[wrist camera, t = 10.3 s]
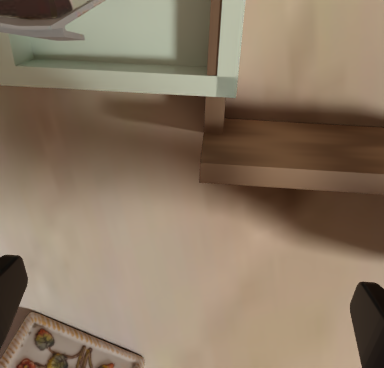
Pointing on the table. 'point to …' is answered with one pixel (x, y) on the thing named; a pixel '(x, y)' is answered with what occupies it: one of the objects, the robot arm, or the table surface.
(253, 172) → the wooden pieces
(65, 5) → the food container
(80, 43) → the tray
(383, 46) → the table surface
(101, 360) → the decorative jar
